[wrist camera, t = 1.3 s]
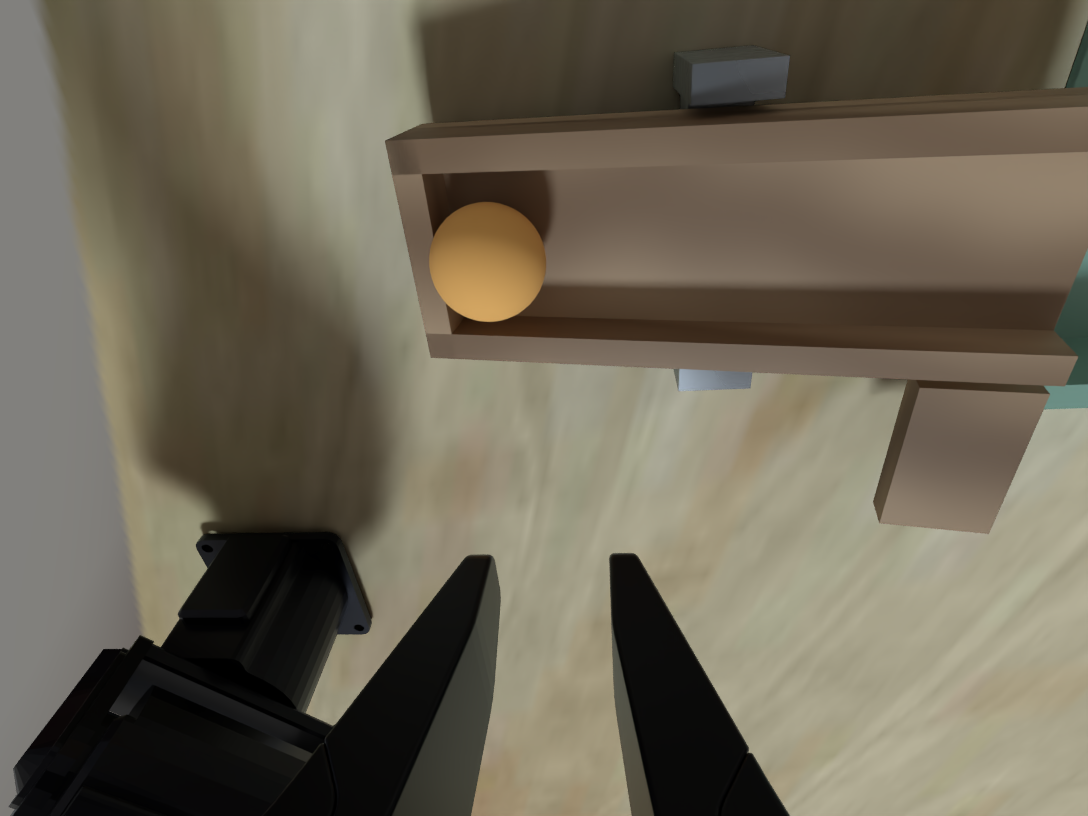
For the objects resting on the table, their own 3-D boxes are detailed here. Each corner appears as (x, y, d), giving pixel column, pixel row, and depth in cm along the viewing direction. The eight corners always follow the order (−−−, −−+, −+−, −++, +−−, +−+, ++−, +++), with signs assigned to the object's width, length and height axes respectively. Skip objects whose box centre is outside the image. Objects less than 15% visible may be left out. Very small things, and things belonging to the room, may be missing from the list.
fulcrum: (727, 332, 20) (750, 388, 17) (665, 335, 20) (678, 391, 17) (753, 44, 16) (790, 55, 13) (674, 52, 16) (692, 63, 13)
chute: (977, 510, 19) (1004, 566, 17) (483, 466, 23) (462, 507, 21) (1154, 82, 13) (1229, 99, 11) (422, 123, 17) (385, 140, 15)
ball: (559, 293, 17) (539, 342, 15) (459, 294, 18) (424, 341, 16) (550, 185, 16) (527, 221, 13) (441, 190, 16) (399, 224, 14)
